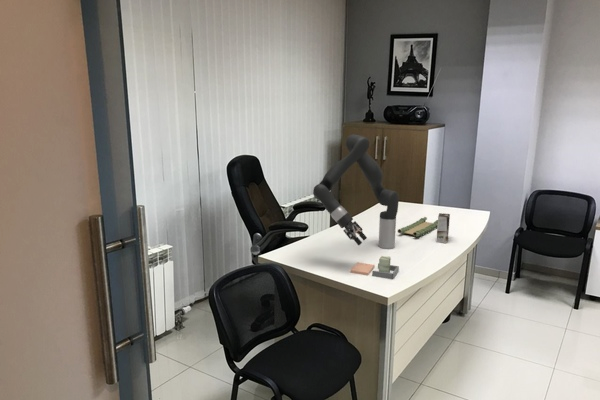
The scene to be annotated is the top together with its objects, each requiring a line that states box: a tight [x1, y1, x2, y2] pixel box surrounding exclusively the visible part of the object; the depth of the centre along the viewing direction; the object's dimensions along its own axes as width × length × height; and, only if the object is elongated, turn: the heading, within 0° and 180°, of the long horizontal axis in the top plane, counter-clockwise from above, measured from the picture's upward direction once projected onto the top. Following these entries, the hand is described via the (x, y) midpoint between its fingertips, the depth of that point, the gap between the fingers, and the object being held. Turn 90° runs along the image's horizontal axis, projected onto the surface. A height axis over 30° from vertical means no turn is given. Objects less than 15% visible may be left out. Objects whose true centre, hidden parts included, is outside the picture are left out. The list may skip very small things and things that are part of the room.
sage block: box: [378, 255, 392, 273], centre depth 221 cm, size 4×4×8 cm
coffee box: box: [435, 213, 451, 244], centre depth 271 cm, size 9×6×16 cm
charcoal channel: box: [371, 262, 400, 280], centre depth 221 cm, size 12×10×2 cm
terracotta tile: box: [349, 262, 376, 276], centre depth 226 cm, size 12×9×1 cm
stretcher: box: [397, 216, 438, 238], centre depth 293 cm, size 41×14×5 cm, turn 142°
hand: (363, 241), depth 223 cm, fingers open, 8 cm apart
